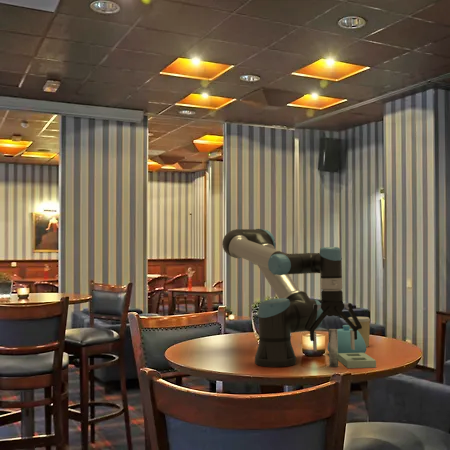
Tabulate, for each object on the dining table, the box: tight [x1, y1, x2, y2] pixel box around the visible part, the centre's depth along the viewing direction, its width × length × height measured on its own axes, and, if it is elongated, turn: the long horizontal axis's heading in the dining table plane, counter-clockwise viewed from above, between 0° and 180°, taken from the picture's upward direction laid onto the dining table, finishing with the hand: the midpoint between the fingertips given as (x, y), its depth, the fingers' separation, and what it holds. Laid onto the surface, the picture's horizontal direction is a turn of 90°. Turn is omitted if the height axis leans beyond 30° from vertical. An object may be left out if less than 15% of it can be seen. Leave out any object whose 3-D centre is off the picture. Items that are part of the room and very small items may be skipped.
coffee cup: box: [347, 316, 371, 348], centre depth 255 cm, size 9×9×12 cm
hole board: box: [338, 352, 377, 369], centre depth 217 cm, size 10×16×2 cm, turn 2°
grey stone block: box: [327, 328, 339, 368], centre depth 214 cm, size 3×3×13 cm
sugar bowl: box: [327, 324, 367, 354], centre depth 236 cm, size 15×15×12 cm
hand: (333, 349), depth 214 cm, fingers open, 13 cm apart
